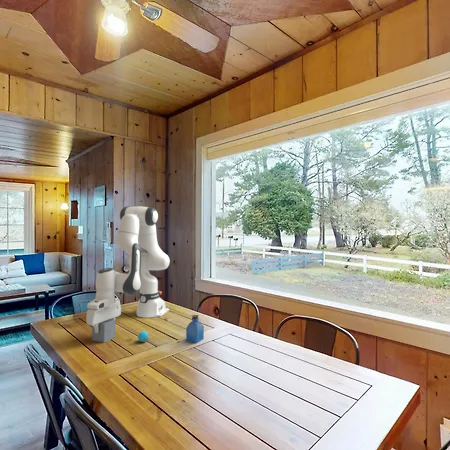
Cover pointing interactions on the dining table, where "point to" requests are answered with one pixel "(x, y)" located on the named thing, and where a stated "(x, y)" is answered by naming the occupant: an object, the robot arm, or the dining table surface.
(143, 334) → the ball
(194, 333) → the perfume bottle
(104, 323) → the gray cuboid
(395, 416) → the dining table surface
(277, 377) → the dining table surface
